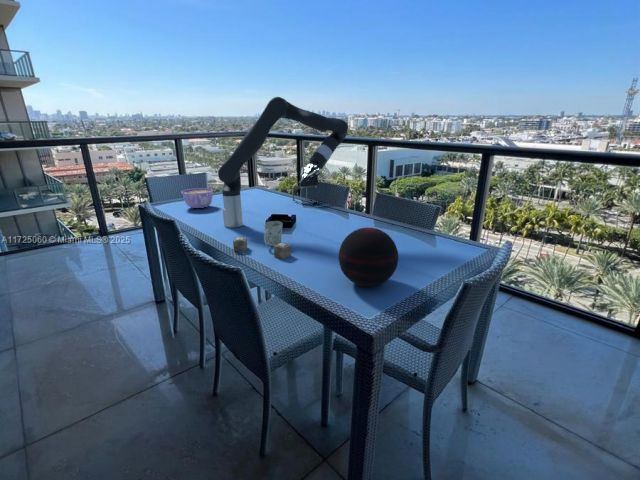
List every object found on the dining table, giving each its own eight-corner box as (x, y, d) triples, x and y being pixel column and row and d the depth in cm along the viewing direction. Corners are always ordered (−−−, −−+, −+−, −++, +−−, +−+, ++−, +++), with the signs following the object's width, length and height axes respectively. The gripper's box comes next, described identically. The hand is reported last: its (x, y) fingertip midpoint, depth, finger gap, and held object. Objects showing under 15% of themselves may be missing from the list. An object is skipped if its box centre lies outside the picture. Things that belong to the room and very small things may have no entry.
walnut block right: (274, 257, 137) (273, 245, 135) (281, 253, 141) (281, 241, 139) (283, 259, 135) (283, 247, 133) (291, 255, 139) (290, 244, 137)
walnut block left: (234, 252, 143) (232, 240, 141) (236, 248, 148) (235, 236, 146) (245, 251, 143) (244, 240, 141) (247, 247, 148) (246, 236, 146)
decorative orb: (357, 303, 102) (359, 242, 95) (328, 277, 119) (328, 224, 112) (408, 289, 110) (413, 233, 103) (374, 267, 127) (377, 217, 120)
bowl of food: (209, 211, 210) (207, 193, 206) (178, 211, 210) (175, 193, 206) (219, 204, 229) (217, 187, 225) (190, 204, 229) (188, 187, 225)
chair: (305, 206, 222) (304, 173, 215) (292, 201, 236) (291, 170, 228) (320, 203, 229) (320, 172, 222) (307, 199, 243) (306, 169, 235)
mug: (286, 242, 154) (285, 222, 151) (274, 251, 143) (273, 229, 140) (270, 240, 157) (269, 220, 154) (257, 249, 146) (255, 227, 142)
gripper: (308, 150, 157) (287, 178, 154) (325, 152, 147) (303, 182, 144) (317, 160, 162) (297, 188, 159) (334, 163, 152) (313, 192, 149)
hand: (300, 185), depth 151 cm, fingers closed
